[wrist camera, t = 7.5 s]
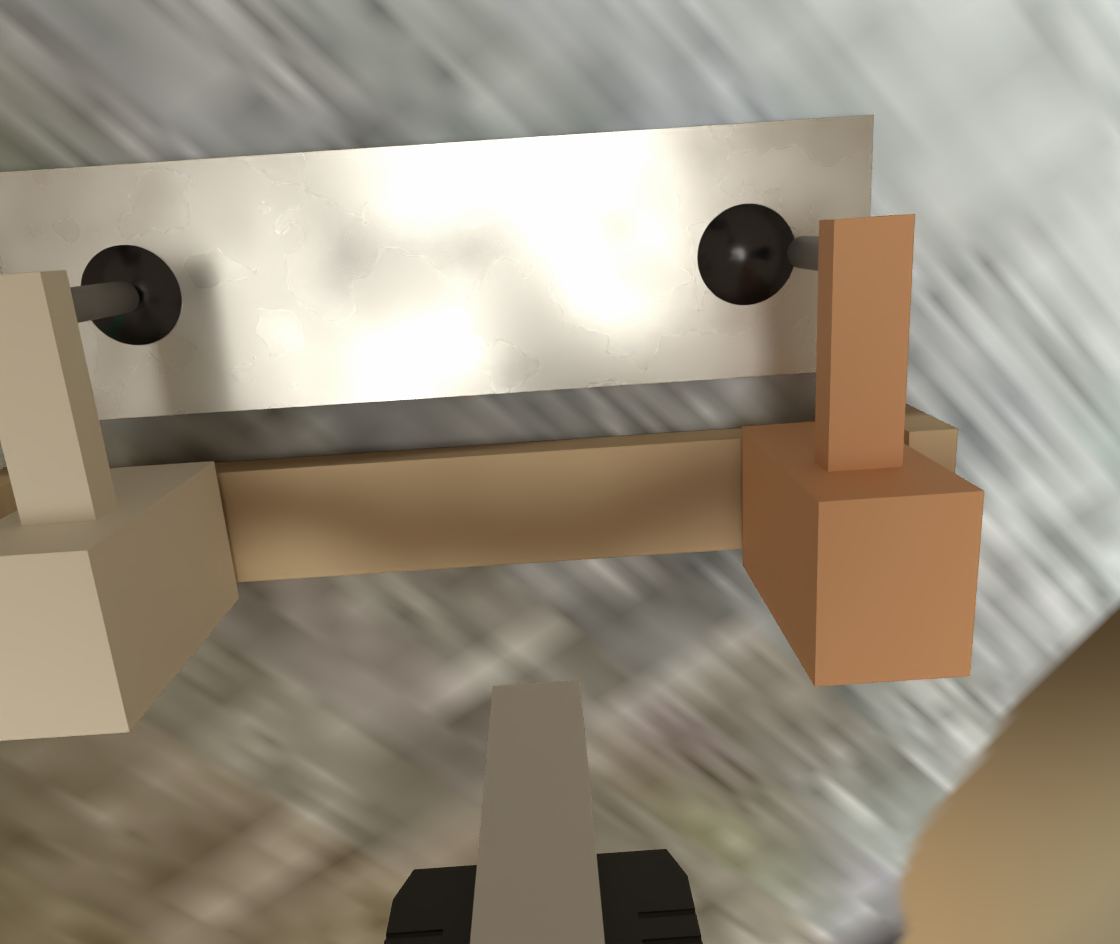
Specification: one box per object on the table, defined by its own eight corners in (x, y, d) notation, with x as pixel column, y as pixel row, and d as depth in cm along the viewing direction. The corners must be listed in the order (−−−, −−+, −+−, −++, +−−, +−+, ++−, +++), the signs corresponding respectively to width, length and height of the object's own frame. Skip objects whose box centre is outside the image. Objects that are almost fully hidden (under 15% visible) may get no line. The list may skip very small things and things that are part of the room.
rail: (17, 462, 30) (-60, 496, 26) (905, 403, 30) (958, 428, 26) (49, 592, 31) (-20, 642, 28) (898, 535, 31) (947, 578, 28)
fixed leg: (53, 269, 27) (-159, 286, 19) (180, 260, 27) (23, 274, 19) (127, 603, 30) (-26, 742, 22) (241, 596, 30) (129, 731, 22)
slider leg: (739, 223, 27) (824, 221, 19) (866, 215, 27) (1006, 209, 19) (741, 563, 30) (814, 686, 22) (854, 555, 30) (970, 676, 22)
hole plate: (-3, 175, 27) (-24, 173, 26) (862, 118, 28) (874, 114, 26) (54, 417, 30) (36, 424, 29) (854, 364, 30) (865, 369, 29)
